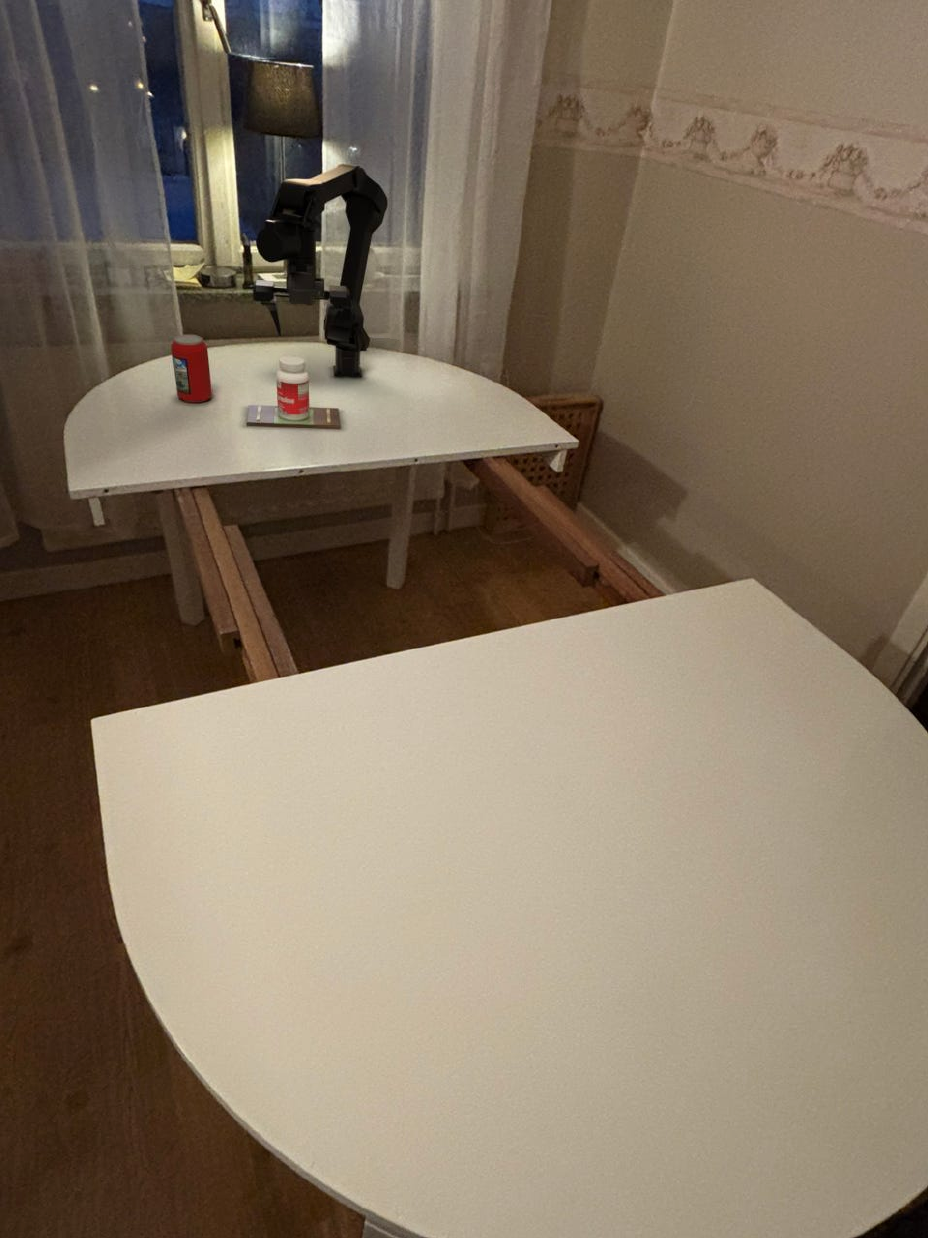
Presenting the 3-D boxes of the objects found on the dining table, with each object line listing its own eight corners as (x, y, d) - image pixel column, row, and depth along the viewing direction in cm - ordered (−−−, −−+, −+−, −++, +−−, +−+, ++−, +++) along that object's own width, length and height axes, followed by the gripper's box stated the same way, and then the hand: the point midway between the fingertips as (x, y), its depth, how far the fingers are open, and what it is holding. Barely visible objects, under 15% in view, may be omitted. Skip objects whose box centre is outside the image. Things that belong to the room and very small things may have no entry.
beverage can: (175, 393, 153) (167, 333, 146) (209, 391, 155) (203, 332, 148) (180, 405, 148) (172, 344, 141) (215, 403, 151) (209, 343, 144)
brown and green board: (249, 408, 150) (248, 403, 150) (338, 411, 154) (338, 407, 153) (246, 426, 143) (246, 421, 143) (340, 429, 147) (340, 424, 146)
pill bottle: (271, 414, 147) (268, 358, 140) (295, 407, 151) (293, 352, 144) (292, 424, 144) (290, 367, 137) (316, 416, 148) (315, 361, 142)
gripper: (249, 260, 136) (254, 346, 145) (351, 268, 139) (350, 352, 149) (252, 248, 144) (257, 330, 154) (348, 255, 148) (347, 335, 157)
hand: (302, 337), depth 153 cm, fingers open, 9 cm apart
